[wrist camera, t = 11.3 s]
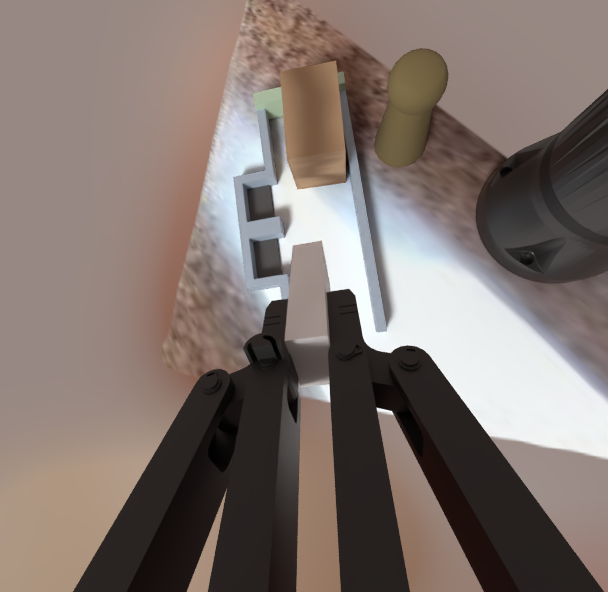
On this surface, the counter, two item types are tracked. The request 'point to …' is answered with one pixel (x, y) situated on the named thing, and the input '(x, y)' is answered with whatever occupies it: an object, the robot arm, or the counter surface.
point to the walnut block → (314, 125)
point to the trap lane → (266, 228)
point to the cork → (410, 106)
